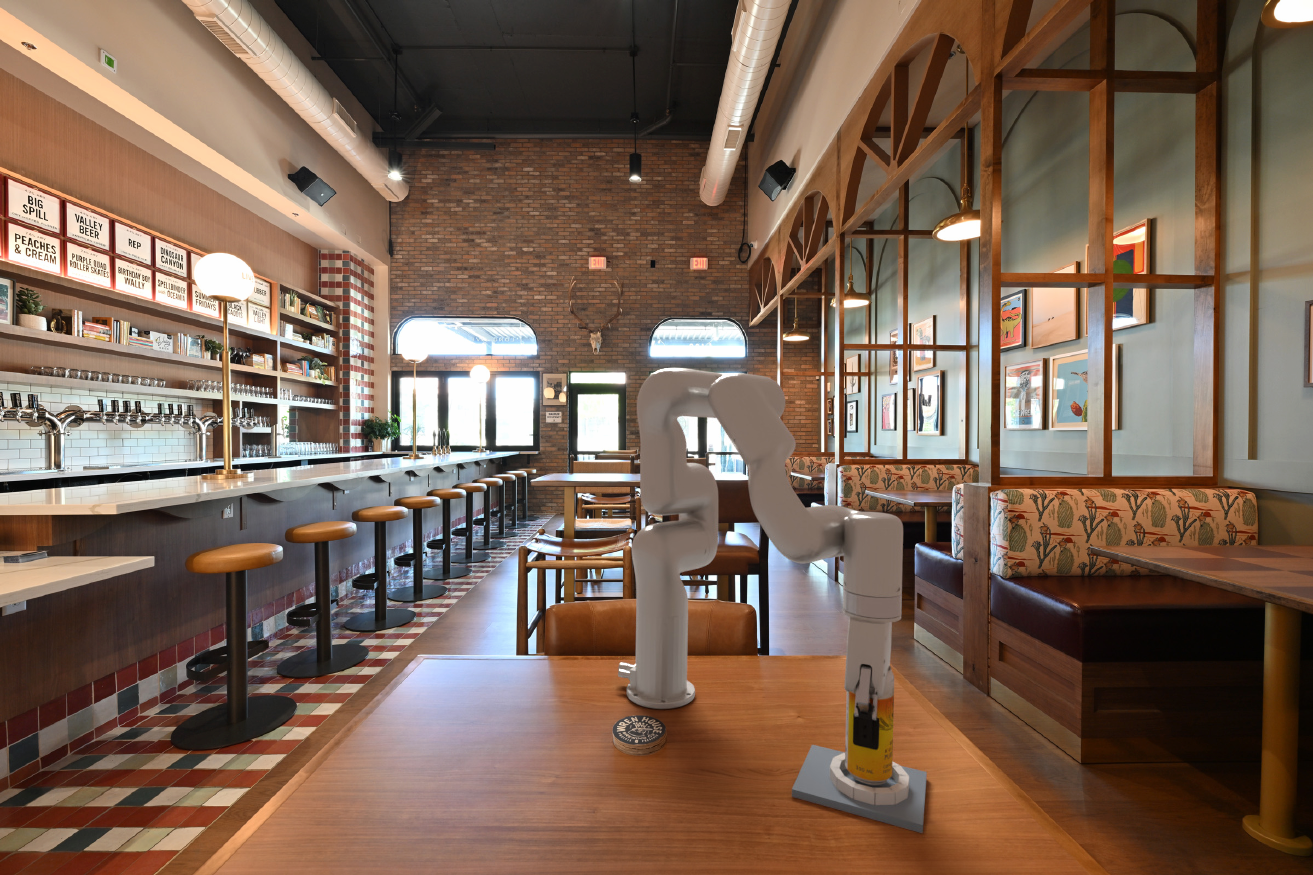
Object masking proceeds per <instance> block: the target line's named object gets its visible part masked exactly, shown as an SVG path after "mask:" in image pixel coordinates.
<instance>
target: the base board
mask: <svg viewBox="0 0 1313 875" xmlns="http://www.w3.org/2000/svg"><path fill="white" fill-rule="evenodd" d="M927 772H928V771H924V770H919V769H917V768H911V767H907V766H903V765H900V764H899V763H896V762H895V761H893V760H892V776H891V777H890V778H889V779H888V780H887V782H885V783H884V784H881V785H869V784H865V783H862V782H860V781H858V780H856V779H854V778H853V777H852V776H851V775H850V773H849V771H848V770H847V768H846V766H845V751H841V750H836V749H832V748H828V747H824V746H823V747H822V746H820V745H816V744H811V745H810V749H809V750H808V752H807V754H806V757H805V759H804V762H803V763H802V766H801V767H800V770H799V773H798V775H797V777H796V779H795V781H794V784H793V785H792V788H791V797H792V798H795V799H799V800H802V801H807V802H810V803H813V804H817V805H820V806H824V807H827V808H832V809H835V810H839V811H842V812H846V813H849V814H853V815H856V816H859V817H863V818H867V819H871V820H873V821H877V822H881V823H884V824H888V825H892V826H895V827H899V828H903V829H907V830H910V831H914V832H917V833H920V834H923V831H924V818H925V816H924V815H925V806H926V805H925V804H926V803H925V802H926V791H927V777H928V776H927V775H928V774H927Z"/></svg>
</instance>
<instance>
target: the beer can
mask: <svg viewBox="0 0 1313 875" xmlns="http://www.w3.org/2000/svg"><path fill="white" fill-rule="evenodd" d="M871 677H872V675H871ZM870 693H871V694H875V689H873V688H870ZM855 697H856V686H855V688H854V690H853V692H852V691H850V692H847V691H846V700H845V701H846V703H845V704H846V706H845V708H846V709H845V710H846V711H845V746H844V748H845V750H844V752H845V766H846V768H847V770H848V771H849V773H850V775H851V776H852V777H853V778H854V779H856V780H858V781H860V782H862V783H865V784H869V785H881V784H884V783H885V782H887V780H888V779H889V778H890V777H891V776H892V761H893V756H894V755H893V752H894V749H893V748H894V745H893V744H894V714H895V713H894V712H895V711H894V708H895V704H894V703H895V675H894V673H893V670H892V667H891V665H890V666H889V671H888V674H887V679H886V684H885V690H884V694H883V696H882V697H880V698H878V711H877V718H879V747H878V749H877V750H874V749H870V748H865V747H861V746H857V745H854V744H853V714H854V712H855ZM869 703H872V706H873V699H871V698H869ZM872 709H873V708H872Z"/></svg>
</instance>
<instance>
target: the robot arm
mask: <svg viewBox="0 0 1313 875" xmlns="http://www.w3.org/2000/svg"><path fill="white" fill-rule="evenodd" d="M785 409H786V396H785V393H784V391H783V388H782V386H780V385H779V383H778V382H777V381H776V380H774V379H772V378H770V377H768V376H766V375H759V374H758V375H757V374H751V373H745V372H744V373H742V372H732V373H723V372H722V373H720V372H714V371H707V370H698V369H694V368H693V369H692V368H685V367H668V368H667V367H666V368H661V369H658V370H656V371H655V372H653V373H651V374H650V375H648V377H647V378H646V379H645V380H644V382H643V383H642V384H641V387H640V389H639V391H638V394H637V398H636V417H637V424H638V429H639V437H640V451H639V452H640V453H639V454H640V456H639V458H640V460H639V462H640V463H639V464H640V465H639V466H640V467H639V468H640V469H639V470H640V475H639V477H640V478H639V479H640V480H639V486H640V488H639V489H640V490H639V492H640V493H639V494H640V501H641V505H642V508H643V509H644V510H645V511H646V512H647V513H648V514H650V515H654V516H670V515H671V516H672V515H678V520H671V521H663V522H656V523H651V524H649V525H647V526H644V527H643V528H641V529H640V530H639V531H638V532H637V533H636V535H635V536H634V538H633V540H632V543H631V557H632V558H631V559H632V563H633V568H634V575H635V589H636V590H635V594H636V595H635V597H636V598H635V599H636V602H635V603H636V605H635V606H636V607H635V608H636V609H635V610H636V616H635V617H636V619H635V620H636V621H635V624H636V625H635V627H636V628H635V663H634V664H631V663H629V662H625V661H621V662H620V663H618V668H617V669H618V671H617V676H618V677H619V678H622V679H628V681H629V683H628V685H627V687H626V696H627V698H628V699H629V700H630V701H631V702H633V703H634V704H636V705H638V706H641V707H643V708H648V709H649V708H650V709H655V710H656V709H657V710H664V709H665V710H666V709H667V710H668V709H676V708H680V707H683V706H685V705H688V704H689V703H690V702H692V701H693V700H695V696H696V688H695V685H694V684H693V683H691V682H690V681H689V680H688V640H689V639H688V638H689V637H688V636H689V635H688V633H689V632H688V628H689V626H688V625H689V598H688V593H687V589H686V587H685V584H684V583H683V580H682V578H681V576H680V575H681V573H683V572H688V571H692V570H696V569H700V568H703V567H706V566H707V565H709V564H711V562H712V561H713V560H714V559H715V557H716V554H717V553H718V552H717V551H718V547H719V545H718V544H719V488H718V484H717V481H716V478H715V476H714V475H713V473H712V471H711V470H710V469H709V468H708V467H706V466H705V465H703V464H701V463H698V462H697V463H696V462H688V461H687V447H688V446H687V438H686V435H685V433H684V430H683V427H682V425H681V424H680V422H679V421H678V418H680V417H691V418H708V419H709V418H712V419H717V421H718V422H719V424H720V426H721V428H722V429H723V431H724V432H725V434H726V435H727V437H728V439H729V440H730V441H731V443H732V445H733V446H734V447H735V449H736V451H737V453H738V454H739V456H740V457H741V459H742V460H743V463H744V464H745V465H746V468H747V469H748V476H747V485H748V487H747V488H748V494H749V499H750V504H751V508H752V511H753V514H754V516H755V517H756V519H757V521H758V522H759V524H760V526H761V528H762V529H763V530H764V532H765V534H766V536H767V538H769V540H770V541H771V544H772V545H773V546H774V548H776V550H777V551H778V553H780V554H781V555H783V557H785V558H786V559H788V560H789V561H791V562H793V563H797V564H809V563H810V564H811V563H814V562H818V561H822V560H826V559H831V558H837V557H838V558H839V557H843V578H842V579H843V586H842V588H843V590H842V591H843V592H842V593H843V594H842V612H843V614H844V615H845V616H846V617H849V618H848V619H849V620H848V627H847V636H846V637H847V638H846V651H845V652H846V654H845V656H846V657H845V670H844V671H845V672H844V691H845V692H846V693H847V692H850V691H852V692H853V690H854V688H855V686H856V697H855V712H854V714H853V744H854V745H857V746H861V747H865V748H870V749H874V750H877V749H878V747H879V718H877V711H878V698H880V697H882V696H883V694H884V690H885V684H886V679H887V674H888V671H889V666H891V665H890V664H891V654H892V652H891V651H892V628H893V627H892V624H893V623H896V622H898V621H900V620H901V619H902V602H903V601H902V600H903V599H902V598H903V597H902V596H903V594H902V592H903V556H904V554H903V553H904V552H903V549H904V545H903V544H904V525H903V522H902V520H901V519H900V518H899V517H898V516H896V515H894V514H891V513H887V512H886V513H885V512H877V511H861V510H860V511H859V510H856V509H853V508H848V507H846V506H841V505H836V504H835V505H834V504H833V505H832V504H828V505H817V506H810V507H805V505H804V504H803V503H802V501H801V499H800V498H799V496H798V495H797V494H796V492H795V491H794V489H793V487H792V486H791V482H790V481H789V478H788V476H787V472H786V462H787V460H788V459H790V457H791V456H792V455H793V453H794V452H795V449H796V447H797V446H796V444H797V443H796V440H795V437H794V436H793V434H792V433H791V431H790V430H789V429H788V427H787V426H786V424H785V423H784V422H783V420H782V418H781V417H782V415H783V413H784V412H785V411H784V410H785ZM871 675H872V677H871ZM870 688H873V689H875V694H871V693H870ZM869 698H871V699H873V706H872V703H869ZM872 708H873V709H872Z"/></svg>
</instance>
